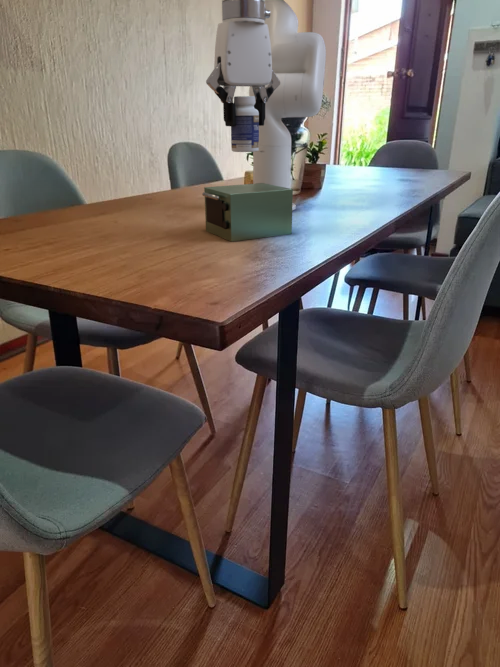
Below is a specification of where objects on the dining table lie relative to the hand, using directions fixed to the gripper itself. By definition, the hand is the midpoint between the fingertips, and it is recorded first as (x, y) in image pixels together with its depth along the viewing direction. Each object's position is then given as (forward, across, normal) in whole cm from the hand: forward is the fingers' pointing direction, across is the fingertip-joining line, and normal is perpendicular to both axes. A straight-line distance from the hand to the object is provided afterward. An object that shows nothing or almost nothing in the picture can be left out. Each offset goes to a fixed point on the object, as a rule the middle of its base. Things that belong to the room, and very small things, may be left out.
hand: (244, 124), depth 97 cm
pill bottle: (+5, 0, 0) cm, 5 cm away
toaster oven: (+21, -1, -1) cm, 21 cm away
